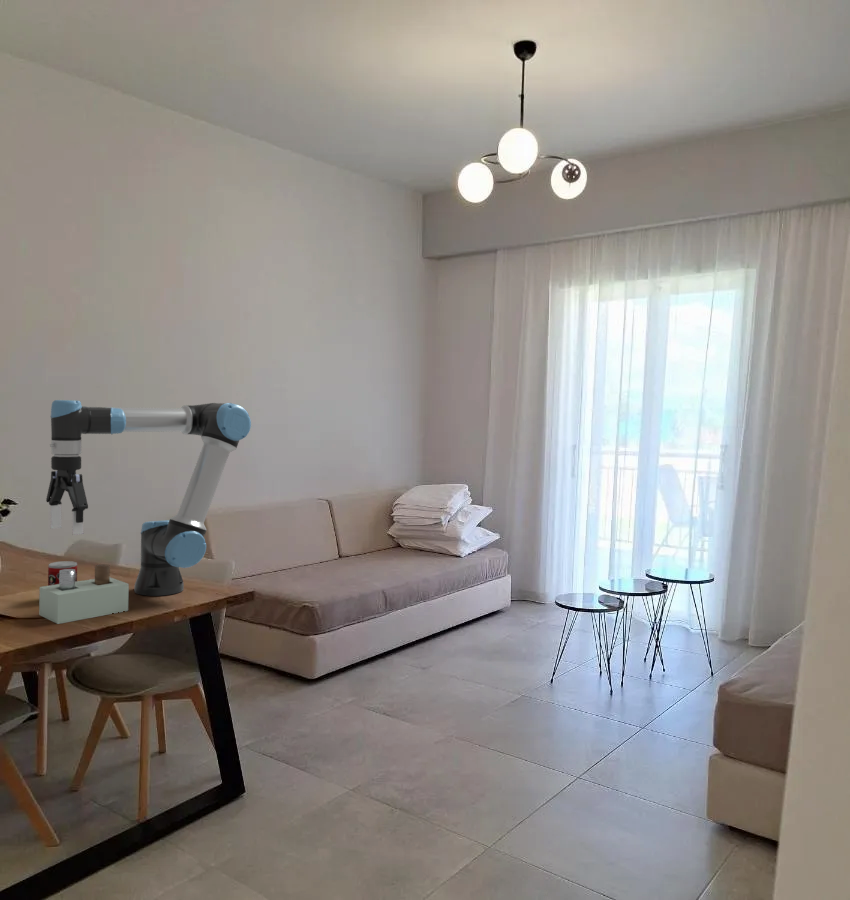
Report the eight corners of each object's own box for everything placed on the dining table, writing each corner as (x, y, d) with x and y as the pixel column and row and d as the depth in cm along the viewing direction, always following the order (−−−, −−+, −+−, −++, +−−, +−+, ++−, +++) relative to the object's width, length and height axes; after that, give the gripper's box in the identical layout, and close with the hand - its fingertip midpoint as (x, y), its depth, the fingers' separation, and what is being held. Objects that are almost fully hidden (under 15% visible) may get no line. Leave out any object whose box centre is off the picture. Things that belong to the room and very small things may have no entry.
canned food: (42, 600, 221) (42, 564, 221) (64, 594, 229) (65, 560, 228) (59, 603, 218) (60, 567, 218) (82, 598, 226) (82, 562, 225)
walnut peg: (105, 588, 216) (105, 563, 216) (111, 591, 213) (112, 566, 213) (91, 591, 213) (92, 565, 213) (98, 593, 210) (98, 567, 210)
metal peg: (71, 594, 208) (71, 568, 208) (77, 596, 206) (77, 570, 205) (56, 596, 205) (57, 570, 205) (62, 599, 203) (63, 572, 202)
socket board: (108, 602, 221) (108, 576, 221) (128, 610, 213) (128, 583, 213) (39, 614, 206) (39, 586, 206) (57, 623, 198) (58, 594, 198)
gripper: (33, 453, 208) (33, 526, 209) (73, 458, 192) (73, 538, 193) (60, 452, 214) (60, 524, 215) (101, 457, 198) (101, 535, 199)
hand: (66, 531), depth 204 cm, fingers open, 13 cm apart
